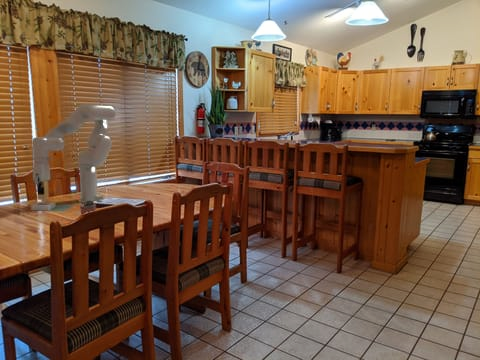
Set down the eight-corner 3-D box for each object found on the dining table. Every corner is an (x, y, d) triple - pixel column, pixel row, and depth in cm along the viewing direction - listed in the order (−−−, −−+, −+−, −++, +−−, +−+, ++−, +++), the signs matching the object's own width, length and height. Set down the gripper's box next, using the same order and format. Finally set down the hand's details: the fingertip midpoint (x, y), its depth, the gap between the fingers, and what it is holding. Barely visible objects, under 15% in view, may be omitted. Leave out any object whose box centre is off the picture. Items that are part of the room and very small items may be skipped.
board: (74, 206, 216) (74, 200, 216) (63, 212, 203) (63, 206, 202) (43, 206, 216) (43, 200, 216) (30, 212, 202) (29, 205, 202)
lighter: (94, 217, 195) (93, 198, 194) (97, 218, 193) (97, 199, 191) (79, 220, 189) (78, 201, 187) (82, 221, 187) (82, 202, 185)
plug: (48, 198, 208) (47, 180, 207) (45, 199, 204) (44, 181, 203) (40, 198, 208) (39, 180, 207) (36, 199, 204) (35, 181, 203)
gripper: (42, 158, 211) (44, 190, 214) (25, 161, 195) (27, 196, 197) (55, 159, 211) (57, 190, 214) (40, 162, 195) (42, 196, 198)
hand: (43, 193), depth 206 cm, fingers closed on plug, 4 cm apart
